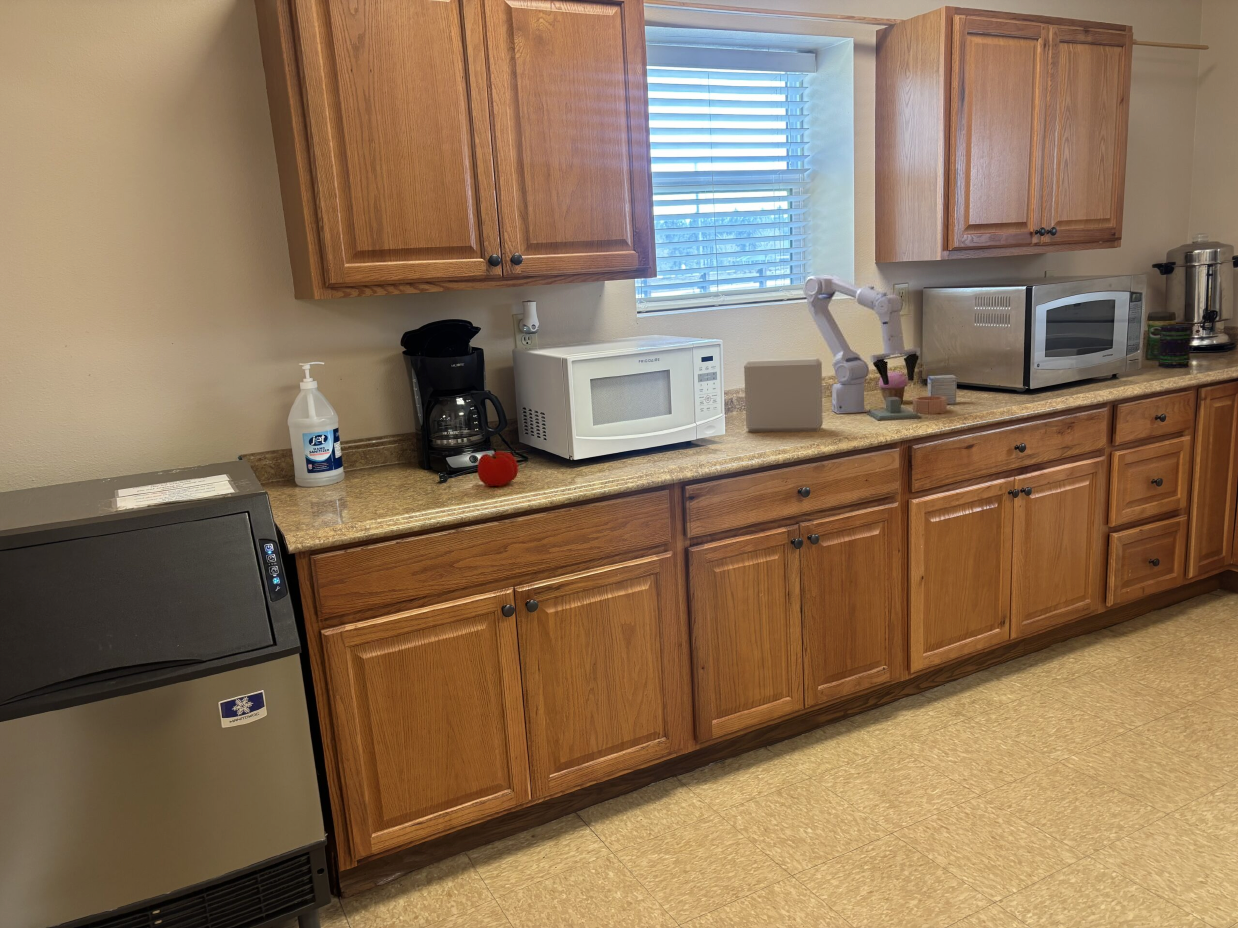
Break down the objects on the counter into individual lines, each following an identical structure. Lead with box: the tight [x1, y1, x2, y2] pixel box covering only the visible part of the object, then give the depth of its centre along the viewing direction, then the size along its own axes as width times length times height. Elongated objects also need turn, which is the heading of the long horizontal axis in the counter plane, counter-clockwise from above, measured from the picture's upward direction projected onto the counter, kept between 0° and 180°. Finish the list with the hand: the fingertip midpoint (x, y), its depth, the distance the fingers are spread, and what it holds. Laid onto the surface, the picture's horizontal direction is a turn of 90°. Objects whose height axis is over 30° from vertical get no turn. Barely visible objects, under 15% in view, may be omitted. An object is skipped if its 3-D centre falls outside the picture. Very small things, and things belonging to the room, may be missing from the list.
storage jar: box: [1157, 324, 1192, 369], centre depth 327 cm, size 10×10×15 cm
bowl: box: [912, 395, 948, 415], centre depth 270 cm, size 9×9×4 cm
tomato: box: [477, 450, 519, 487], centre depth 211 cm, size 9×9×8 cm
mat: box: [866, 411, 922, 422], centre depth 266 cm, size 12×12×1 cm
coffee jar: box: [1144, 310, 1177, 361], centre depth 349 cm, size 10×8×19 cm
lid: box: [869, 397, 919, 419], centre depth 266 cm, size 11×11×5 cm
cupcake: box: [878, 371, 909, 403], centre depth 290 cm, size 9×9×10 cm
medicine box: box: [927, 374, 958, 405], centre depth 282 cm, size 8×4×9 cm, turn 84°
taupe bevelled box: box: [743, 357, 824, 433], centre depth 254 cm, size 21×8×20 cm, turn 73°
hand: (898, 382), depth 265 cm, fingers open, 7 cm apart
